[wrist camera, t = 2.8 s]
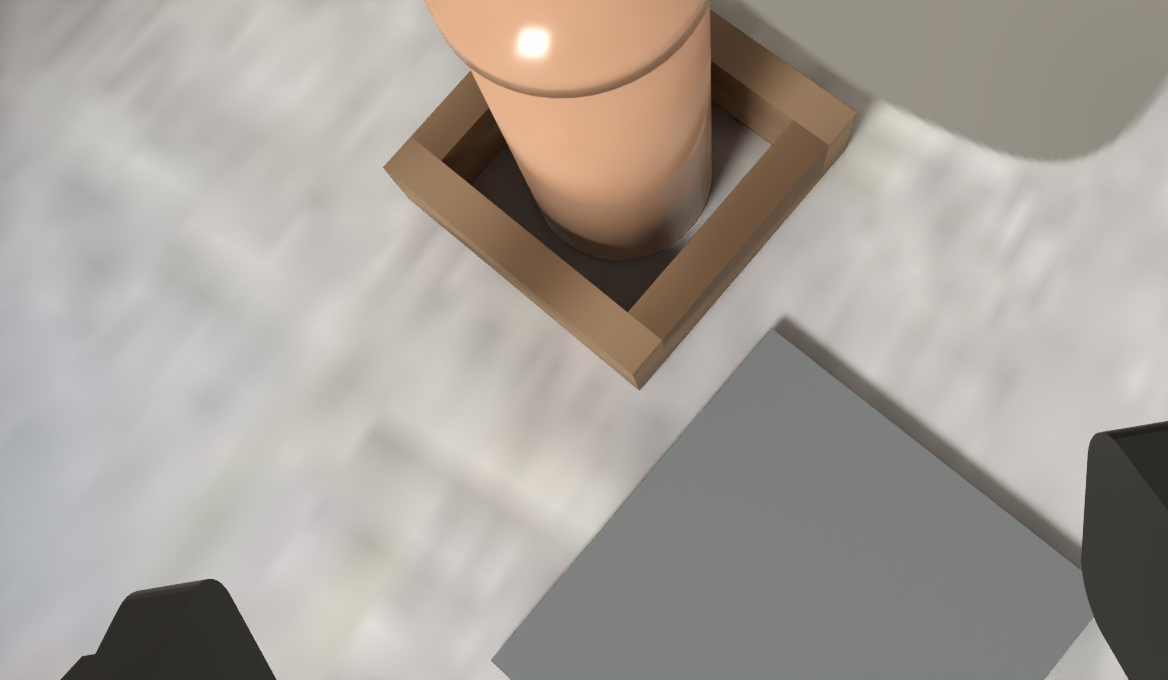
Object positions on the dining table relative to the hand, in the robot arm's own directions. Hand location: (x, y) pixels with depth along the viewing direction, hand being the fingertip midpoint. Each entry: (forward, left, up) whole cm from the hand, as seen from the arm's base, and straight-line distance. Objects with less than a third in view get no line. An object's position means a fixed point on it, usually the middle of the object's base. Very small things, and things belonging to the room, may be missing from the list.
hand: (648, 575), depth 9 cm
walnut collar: (-9, +8, -19) cm, 22 cm away
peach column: (-9, +8, -19) cm, 22 cm away
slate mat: (+3, +1, -19) cm, 19 cm away
